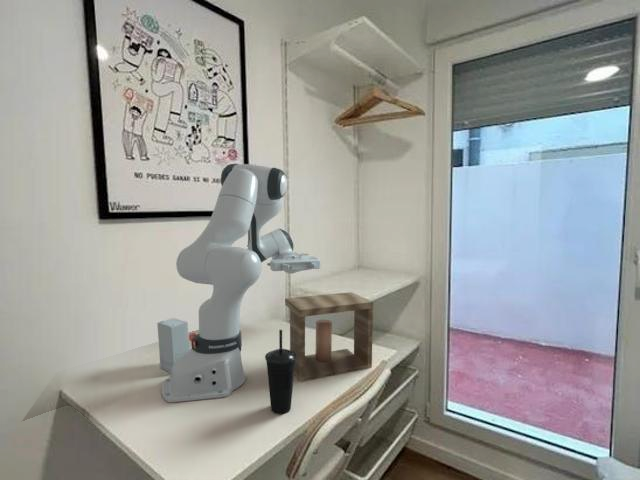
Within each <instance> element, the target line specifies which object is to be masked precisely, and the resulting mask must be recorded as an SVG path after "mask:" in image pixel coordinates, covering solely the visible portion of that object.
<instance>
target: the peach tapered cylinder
mask: <svg viewBox="0 0 640 480" xmlns="http://www.w3.org/2000/svg"><path fill="white" fill-rule="evenodd" d="M332 336H333V321H332V320H328V319H317V320H316V321H315V353H314V354H315V358H316V360H318V361H329V360H331V351H333V350H332V348H333V347H332V344H333V343H332V341H333V338H332Z"/></svg>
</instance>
